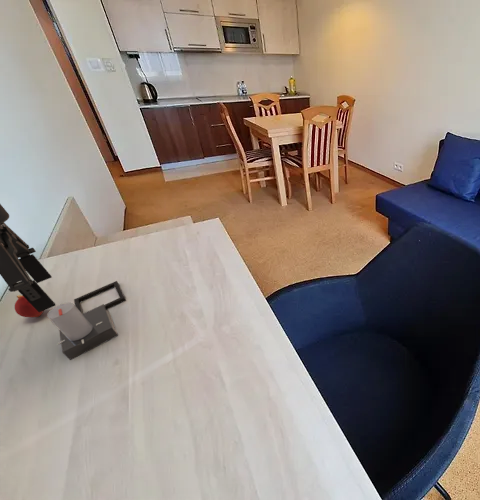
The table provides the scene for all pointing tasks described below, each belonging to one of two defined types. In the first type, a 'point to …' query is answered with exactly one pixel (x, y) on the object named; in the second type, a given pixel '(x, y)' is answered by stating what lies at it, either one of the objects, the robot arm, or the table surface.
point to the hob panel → (91, 333)
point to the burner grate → (98, 291)
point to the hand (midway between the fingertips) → (45, 293)
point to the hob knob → (70, 321)
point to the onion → (25, 308)
